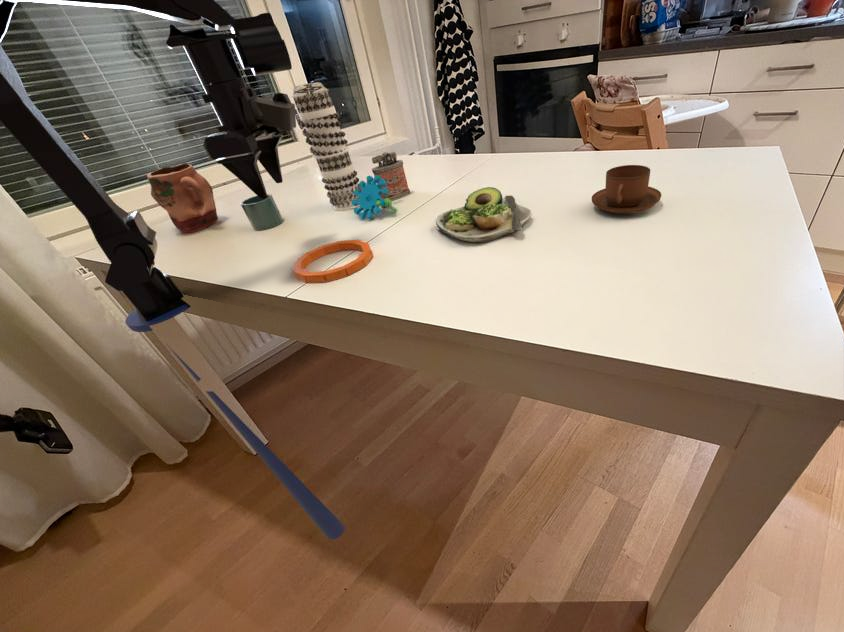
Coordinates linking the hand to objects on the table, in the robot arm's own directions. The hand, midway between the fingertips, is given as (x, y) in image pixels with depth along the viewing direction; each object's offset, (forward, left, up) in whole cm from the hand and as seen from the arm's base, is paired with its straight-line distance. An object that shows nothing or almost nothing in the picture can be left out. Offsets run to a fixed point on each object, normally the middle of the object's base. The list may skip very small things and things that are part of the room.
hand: (272, 190), depth 69 cm
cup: (+6, +27, -13) cm, 31 cm away
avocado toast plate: (+26, -25, -13) cm, 38 cm away
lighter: (+31, +8, -13) cm, 35 cm away
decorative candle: (+23, +17, -13) cm, 32 cm away
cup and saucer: (+42, -46, -13) cm, 63 cm away
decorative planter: (-2, +47, -13) cm, 49 cm away
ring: (+1, -10, -13) cm, 16 cm away
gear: (+21, +3, -13) cm, 25 cm away
